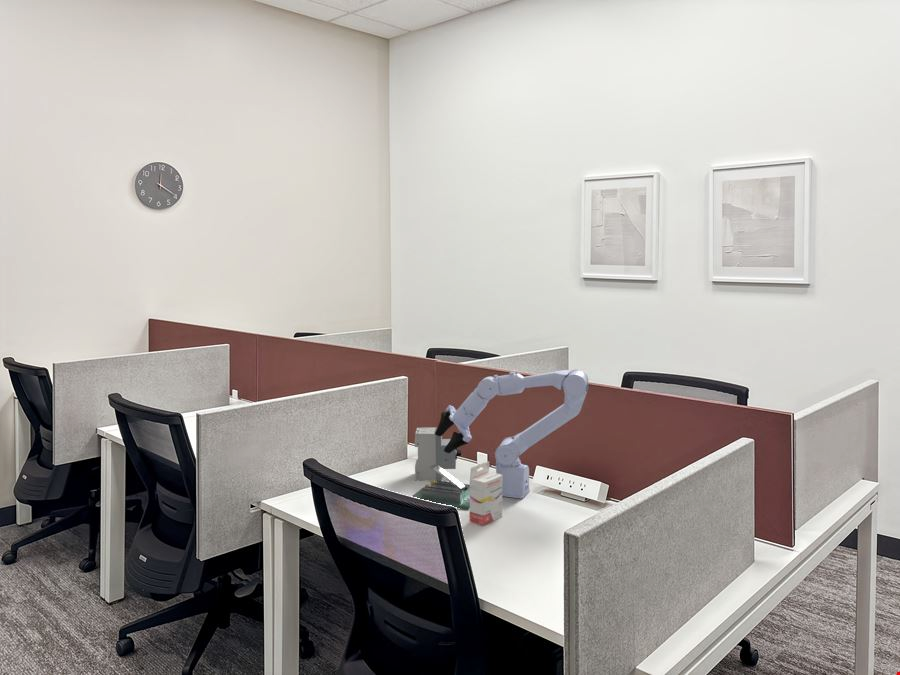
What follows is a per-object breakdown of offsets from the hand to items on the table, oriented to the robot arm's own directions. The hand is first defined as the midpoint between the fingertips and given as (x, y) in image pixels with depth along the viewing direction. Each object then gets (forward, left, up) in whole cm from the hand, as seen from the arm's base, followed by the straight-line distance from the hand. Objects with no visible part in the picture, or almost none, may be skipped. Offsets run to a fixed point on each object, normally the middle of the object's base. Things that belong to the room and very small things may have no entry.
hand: (441, 443), depth 210 cm
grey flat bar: (-6, +8, -8) cm, 13 cm away
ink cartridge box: (-21, +19, -14) cm, 32 cm away
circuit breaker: (+5, -9, -14) cm, 17 cm away
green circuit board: (-5, +8, -14) cm, 17 cm away
